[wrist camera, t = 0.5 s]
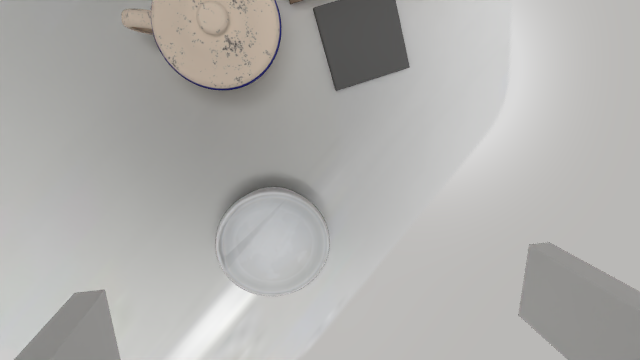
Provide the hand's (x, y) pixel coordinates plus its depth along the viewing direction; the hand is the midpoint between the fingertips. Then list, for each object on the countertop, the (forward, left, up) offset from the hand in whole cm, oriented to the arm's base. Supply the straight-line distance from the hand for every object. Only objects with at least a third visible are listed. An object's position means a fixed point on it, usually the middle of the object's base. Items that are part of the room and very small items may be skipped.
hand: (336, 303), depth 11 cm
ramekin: (+8, -4, -27) cm, 28 cm away
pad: (-8, +11, -27) cm, 30 cm away
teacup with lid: (-12, -3, -27) cm, 30 cm away
